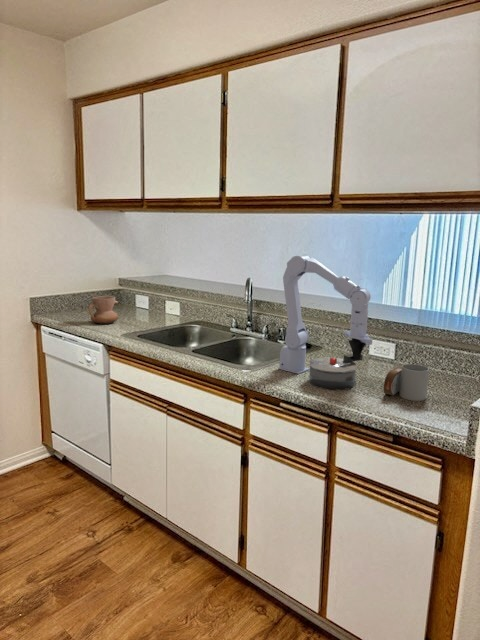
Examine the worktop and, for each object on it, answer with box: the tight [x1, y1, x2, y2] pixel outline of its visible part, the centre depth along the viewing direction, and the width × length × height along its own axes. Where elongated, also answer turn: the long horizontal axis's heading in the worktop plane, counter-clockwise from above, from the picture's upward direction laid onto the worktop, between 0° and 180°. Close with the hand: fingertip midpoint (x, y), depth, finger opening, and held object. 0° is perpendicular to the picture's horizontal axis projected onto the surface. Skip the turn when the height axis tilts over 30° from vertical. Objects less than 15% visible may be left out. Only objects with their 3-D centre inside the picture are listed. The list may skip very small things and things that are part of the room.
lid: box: [309, 353, 364, 373], centre depth 174 cm, size 21×16×3 cm
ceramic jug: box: [88, 295, 119, 325], centre depth 265 cm, size 18×14×14 cm
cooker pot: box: [308, 366, 357, 391], centre depth 176 cm, size 16×21×6 cm
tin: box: [383, 365, 402, 396], centre depth 165 cm, size 15×3×8 cm, turn 141°
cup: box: [399, 363, 430, 402], centre depth 161 cm, size 8×8×10 cm
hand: (356, 359), depth 176 cm, fingers closed
